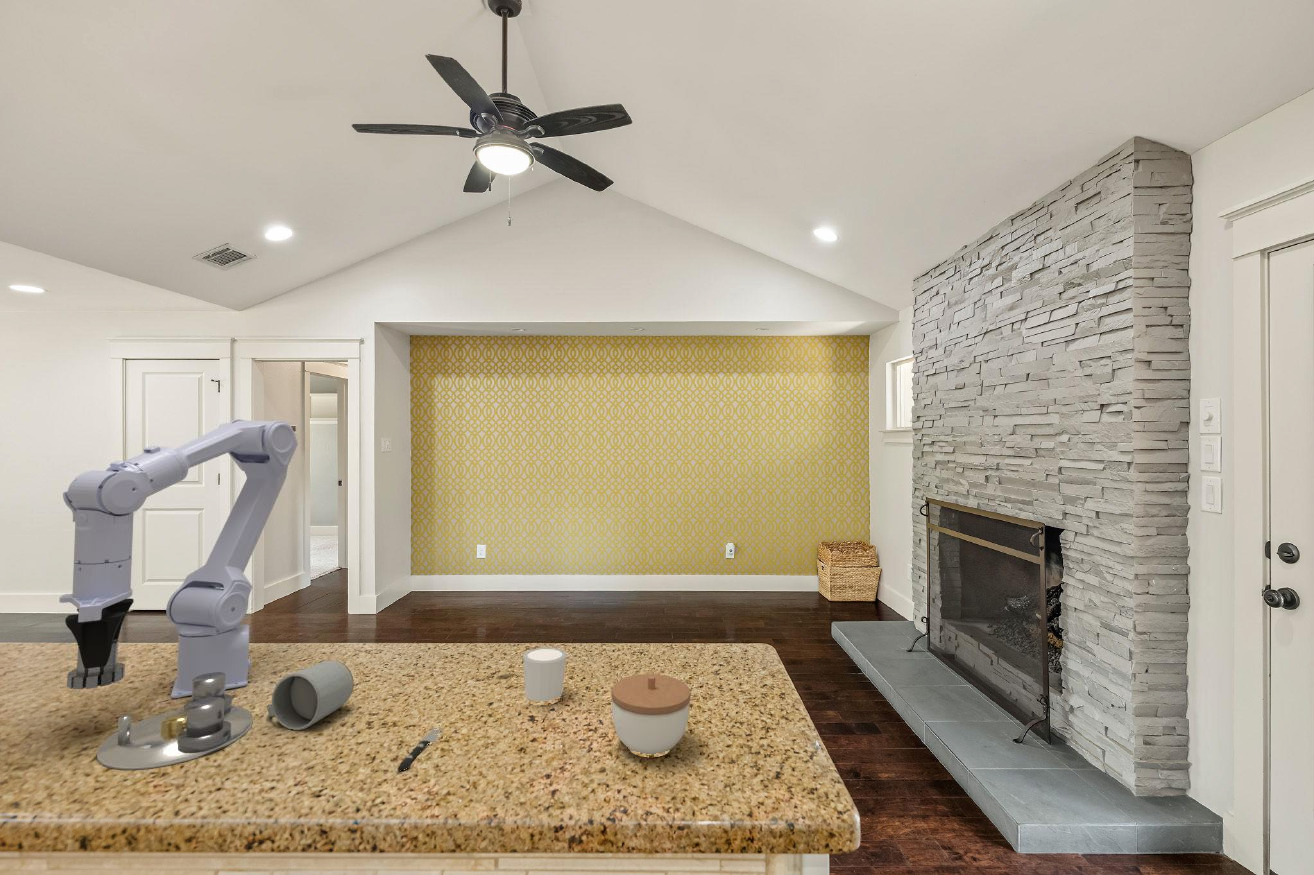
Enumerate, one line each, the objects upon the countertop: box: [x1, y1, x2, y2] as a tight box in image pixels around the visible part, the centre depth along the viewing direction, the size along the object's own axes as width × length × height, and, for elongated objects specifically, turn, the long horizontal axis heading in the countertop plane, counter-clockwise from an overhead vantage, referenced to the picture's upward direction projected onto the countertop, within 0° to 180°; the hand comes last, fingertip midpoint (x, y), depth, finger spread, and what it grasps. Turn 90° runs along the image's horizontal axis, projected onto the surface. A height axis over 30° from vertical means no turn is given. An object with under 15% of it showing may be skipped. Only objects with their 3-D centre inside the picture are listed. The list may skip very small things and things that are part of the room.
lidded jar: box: [611, 673, 692, 754], centre depth 80 cm, size 11×11×9 cm
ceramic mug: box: [266, 660, 355, 731], centre depth 85 cm, size 11×8×8 cm
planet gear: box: [66, 639, 126, 690], centre depth 79 cm, size 6×6×5 cm
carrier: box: [96, 672, 254, 771], centre depth 79 cm, size 16×16×6 cm
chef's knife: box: [397, 725, 443, 771], centre depth 81 cm, size 19×1×3 cm
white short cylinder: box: [522, 646, 567, 702], centre depth 94 cm, size 7×7×7 cm
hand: (99, 661), depth 79 cm, fingers closed on planet gear, 4 cm apart
